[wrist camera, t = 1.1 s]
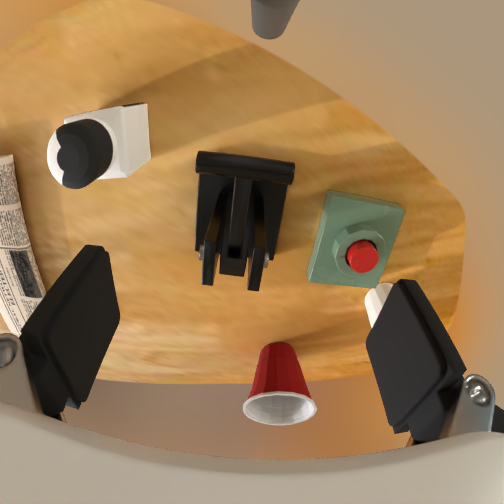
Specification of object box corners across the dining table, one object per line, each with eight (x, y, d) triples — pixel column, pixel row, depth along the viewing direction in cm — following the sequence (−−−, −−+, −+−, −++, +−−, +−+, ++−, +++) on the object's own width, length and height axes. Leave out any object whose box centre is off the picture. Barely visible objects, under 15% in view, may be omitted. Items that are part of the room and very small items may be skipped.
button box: (327, 189, 34) (335, 201, 31) (398, 203, 35) (411, 216, 32) (306, 272, 40) (310, 290, 37) (371, 279, 41) (379, 296, 38)
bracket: (202, 155, 33) (174, 191, 21) (289, 166, 33) (307, 208, 22) (196, 246, 39) (174, 312, 27) (272, 255, 39) (278, 325, 28)
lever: (201, 142, 18) (193, 164, 17) (294, 153, 18) (295, 177, 17) (202, 249, 28) (198, 271, 27) (265, 257, 28) (264, 279, 27)
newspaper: (68, 338, 49) (63, 348, 47) (7, 322, 49) (1, 330, 47) (17, 152, 31) (5, 157, 28) (-44, 165, 30) (-54, 170, 28)
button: (351, 237, 34) (355, 245, 32) (378, 241, 34) (383, 249, 32) (343, 263, 35) (346, 271, 34) (368, 267, 36) (373, 274, 34)
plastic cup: (232, 345, 48) (227, 407, 38) (291, 322, 45) (298, 386, 35) (264, 378, 53) (264, 433, 42) (317, 359, 50) (327, 416, 39)
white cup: (406, 279, 41) (425, 308, 35) (393, 313, 44) (408, 343, 38) (366, 278, 41) (382, 310, 35) (356, 314, 44) (367, 347, 38)
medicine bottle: (148, 101, 29) (97, 110, 19) (152, 160, 33) (108, 195, 22) (95, 110, 29) (33, 126, 19) (100, 165, 33) (46, 200, 22)
